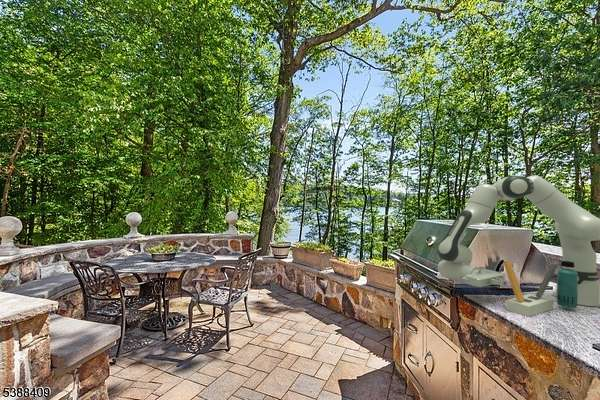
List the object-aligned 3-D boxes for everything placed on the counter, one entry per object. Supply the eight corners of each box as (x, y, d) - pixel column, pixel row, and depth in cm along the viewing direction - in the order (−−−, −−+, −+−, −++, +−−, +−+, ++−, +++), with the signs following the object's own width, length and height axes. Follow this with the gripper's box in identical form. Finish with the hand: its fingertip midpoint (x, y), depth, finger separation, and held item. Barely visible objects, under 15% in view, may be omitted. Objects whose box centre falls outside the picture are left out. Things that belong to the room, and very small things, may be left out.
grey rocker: (538, 294, 123) (555, 262, 118) (542, 296, 122) (558, 263, 117) (535, 295, 122) (551, 262, 117) (538, 297, 121) (555, 264, 116)
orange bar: (521, 300, 117) (506, 260, 122) (524, 300, 116) (509, 260, 121) (517, 301, 115) (502, 261, 120) (520, 301, 114) (505, 261, 119)
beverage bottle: (568, 306, 122) (569, 259, 123) (582, 312, 116) (583, 263, 116) (552, 305, 123) (552, 259, 123) (565, 311, 116) (565, 262, 117)
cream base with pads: (530, 302, 127) (530, 292, 127) (553, 308, 120) (553, 298, 120) (506, 309, 118) (506, 299, 118) (529, 316, 110) (529, 305, 110)
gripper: (458, 271, 128) (491, 278, 116) (484, 266, 138) (517, 273, 126) (458, 285, 128) (491, 294, 116) (484, 279, 138) (517, 287, 126)
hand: (504, 283), depth 121 cm, fingers closed
